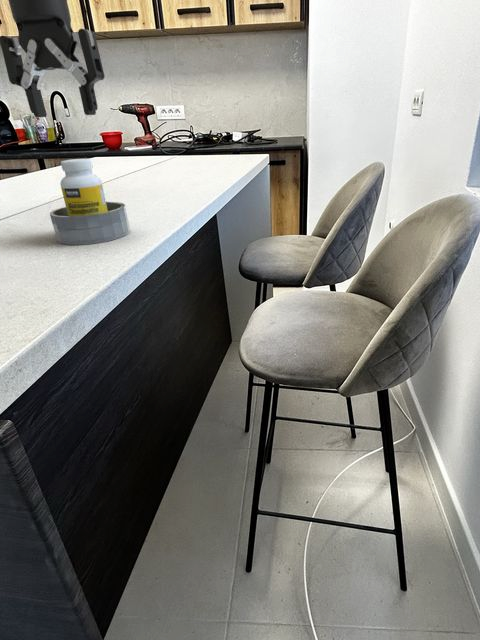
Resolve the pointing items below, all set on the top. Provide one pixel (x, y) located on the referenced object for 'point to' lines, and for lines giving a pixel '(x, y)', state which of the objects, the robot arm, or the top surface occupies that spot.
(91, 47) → the robot arm
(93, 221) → the dish
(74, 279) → the top surface
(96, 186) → the pill bottle
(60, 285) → the top surface
